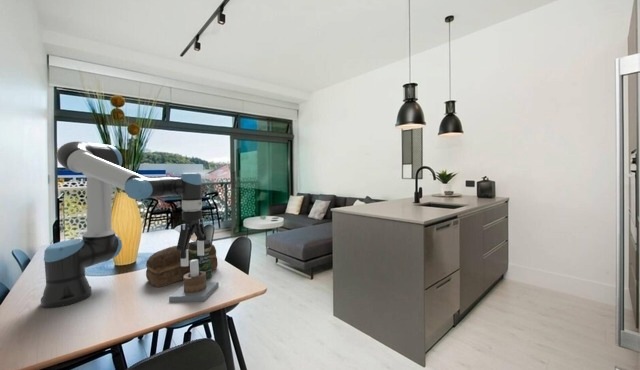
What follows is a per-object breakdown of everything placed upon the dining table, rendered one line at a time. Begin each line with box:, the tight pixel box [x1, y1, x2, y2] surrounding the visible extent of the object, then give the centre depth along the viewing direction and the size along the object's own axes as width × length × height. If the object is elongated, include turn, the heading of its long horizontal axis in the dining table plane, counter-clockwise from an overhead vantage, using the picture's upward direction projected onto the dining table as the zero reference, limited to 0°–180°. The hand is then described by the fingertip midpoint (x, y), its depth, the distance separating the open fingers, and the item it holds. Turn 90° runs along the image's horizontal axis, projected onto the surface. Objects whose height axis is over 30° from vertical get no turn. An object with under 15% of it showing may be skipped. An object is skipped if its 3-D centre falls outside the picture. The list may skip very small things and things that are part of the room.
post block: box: [168, 259, 219, 303], centre depth 112 cm, size 14×14×14 cm
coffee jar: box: [189, 238, 213, 280], centre depth 128 cm, size 10×8×19 cm
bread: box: [145, 242, 218, 288], centre depth 134 cm, size 15×32×16 cm, turn 142°
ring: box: [183, 271, 207, 293], centre depth 112 cm, size 8×8×6 cm
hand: (193, 260), depth 112 cm, fingers open, 13 cm apart
